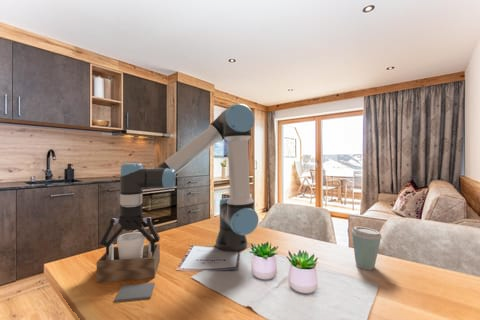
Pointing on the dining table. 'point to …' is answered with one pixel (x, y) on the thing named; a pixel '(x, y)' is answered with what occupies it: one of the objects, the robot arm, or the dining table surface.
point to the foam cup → (130, 245)
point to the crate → (128, 266)
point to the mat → (135, 292)
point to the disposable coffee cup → (366, 246)
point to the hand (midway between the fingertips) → (130, 261)
